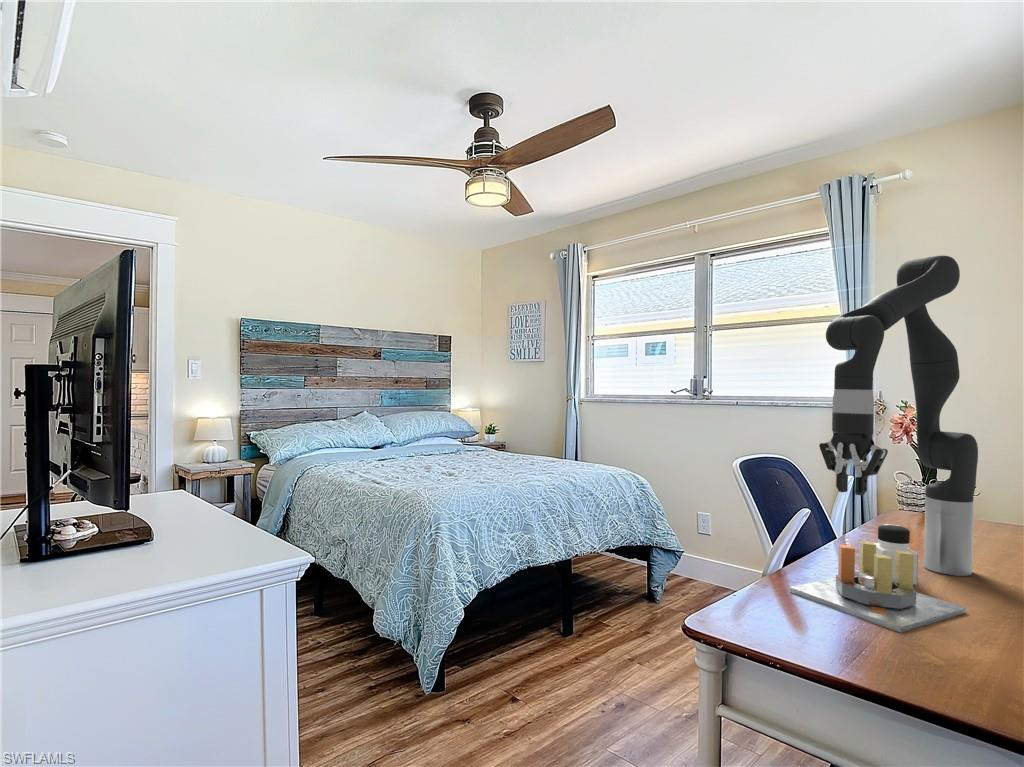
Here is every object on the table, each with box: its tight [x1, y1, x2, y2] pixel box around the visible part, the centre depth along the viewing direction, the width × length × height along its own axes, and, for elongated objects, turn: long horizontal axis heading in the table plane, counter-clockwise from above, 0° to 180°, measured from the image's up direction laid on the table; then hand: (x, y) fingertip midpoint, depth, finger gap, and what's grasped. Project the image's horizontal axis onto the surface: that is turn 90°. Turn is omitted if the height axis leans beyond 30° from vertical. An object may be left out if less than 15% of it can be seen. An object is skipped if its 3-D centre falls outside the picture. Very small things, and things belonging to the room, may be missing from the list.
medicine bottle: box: [873, 524, 919, 586], centre depth 131 cm, size 7×7×12 cm
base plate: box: [789, 572, 967, 634], centre depth 116 cm, size 22×22×5 cm
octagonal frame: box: [835, 540, 917, 609], centre depth 116 cm, size 13×13×9 cm
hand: (851, 492), depth 121 cm, fingers open, 3 cm apart
